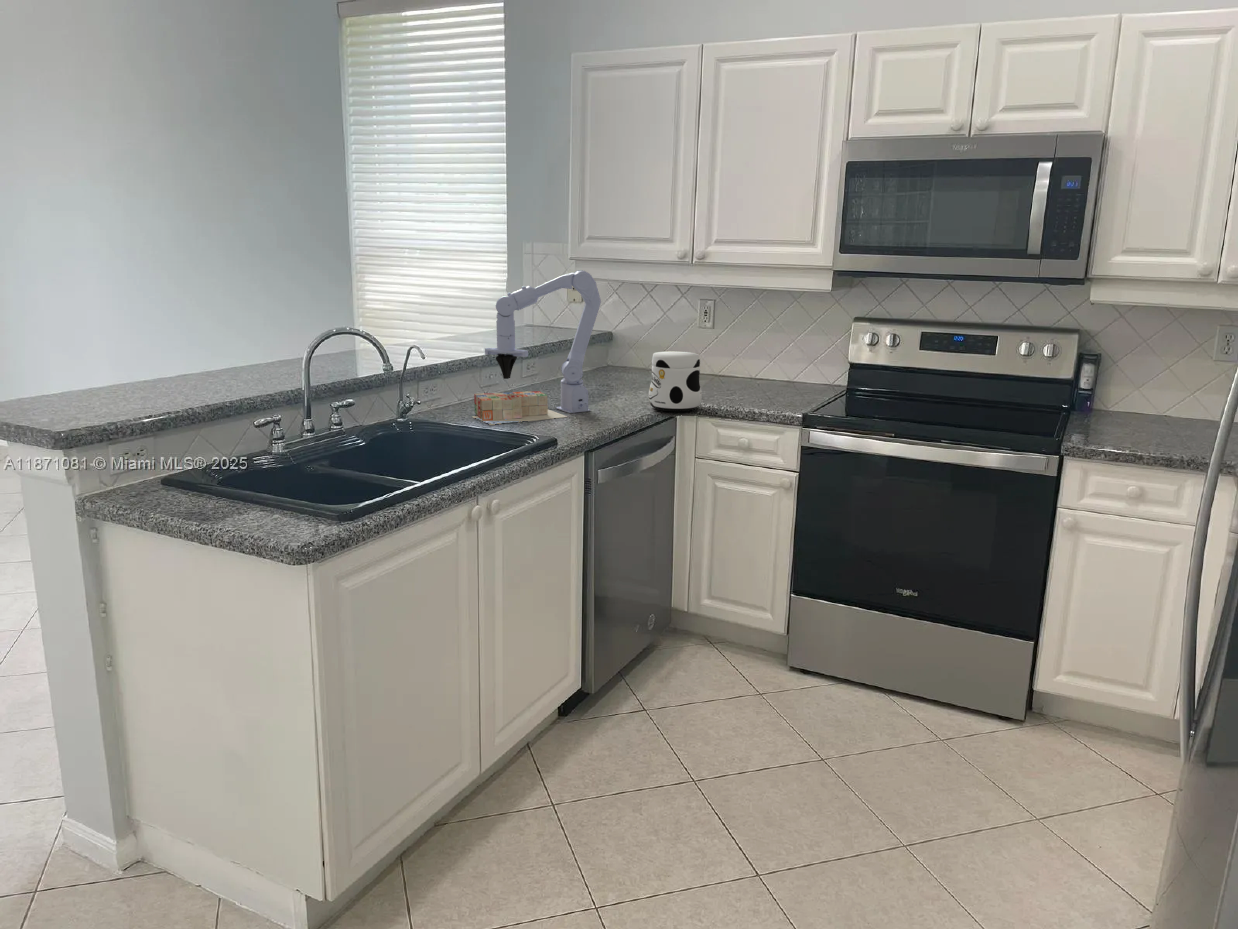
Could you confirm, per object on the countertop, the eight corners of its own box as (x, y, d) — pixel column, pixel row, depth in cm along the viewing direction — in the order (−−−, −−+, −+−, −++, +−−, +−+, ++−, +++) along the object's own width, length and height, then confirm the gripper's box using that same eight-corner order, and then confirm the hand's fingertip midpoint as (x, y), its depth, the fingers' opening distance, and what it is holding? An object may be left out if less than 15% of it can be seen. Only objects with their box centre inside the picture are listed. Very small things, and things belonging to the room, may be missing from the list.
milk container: (637, 408, 294) (638, 353, 290) (672, 402, 306) (674, 349, 302) (676, 416, 282) (678, 359, 278) (712, 409, 294) (714, 354, 290)
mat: (567, 417, 279) (567, 416, 279) (490, 425, 266) (490, 424, 266) (546, 409, 291) (546, 408, 291) (471, 417, 278) (471, 416, 278)
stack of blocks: (539, 390, 288) (550, 396, 277) (539, 409, 290) (550, 416, 279) (473, 393, 281) (482, 400, 270) (474, 413, 282) (482, 421, 271)
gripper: (532, 335, 284) (533, 378, 287) (492, 332, 289) (493, 374, 292) (521, 337, 277) (522, 381, 281) (480, 335, 283) (482, 378, 286)
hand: (506, 378), depth 286 cm, fingers closed
